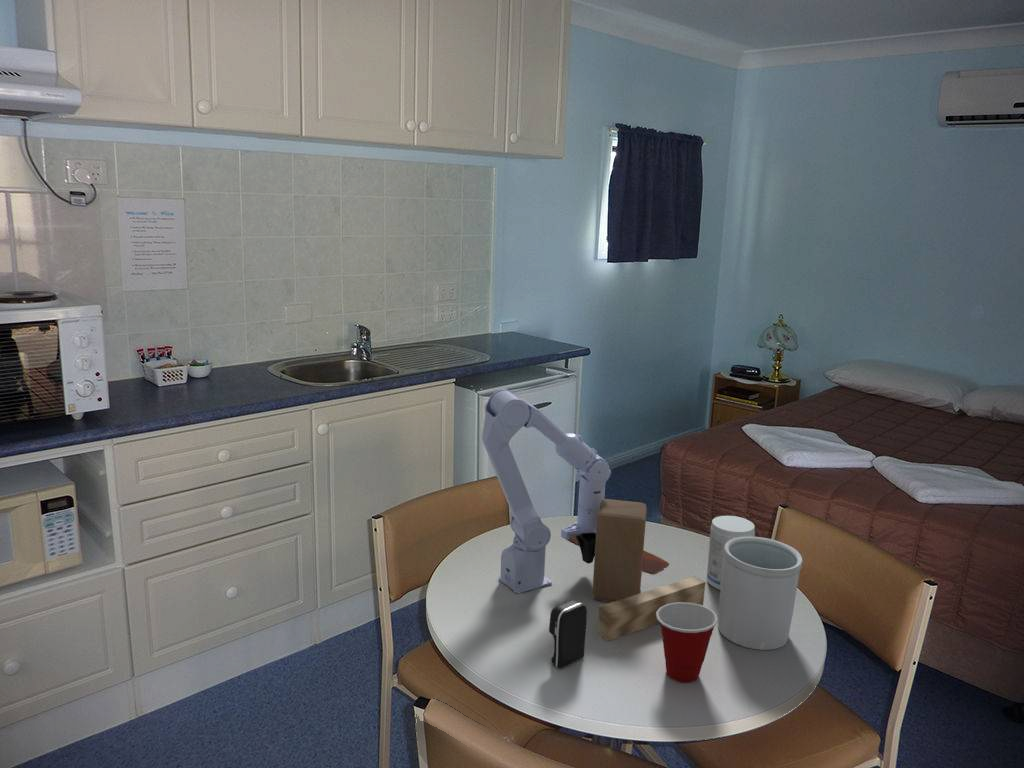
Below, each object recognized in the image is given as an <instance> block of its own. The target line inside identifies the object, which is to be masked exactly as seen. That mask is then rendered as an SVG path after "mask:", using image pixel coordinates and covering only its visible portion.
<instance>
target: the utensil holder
mask: <svg viewBox="0 0 1024 768" xmlns="http://www.w3.org/2000/svg"><path fill="white" fill-rule="evenodd" d="M724 555H725V558H724V566H723V574H722V584H721V590H720V594H719V605H718V615H717V619H718V621H717V626H718V629H719V632H720V634H721V635H722V636H723V637H724V638H726V639H727V640H729V641H730V642H732V643H734V644H736V645H738V646H741V647H743V648H746V649H747V648H748V649H752V650H759V651H760V650H761V651H771V650H777V649H779V648H782V647H784V646H785V645H786V644H787V642H788V640H789V636H790V630H791V625H792V619H793V614H794V608H795V602H796V601H795V600H796V595H797V591H798V586H799V585H798V584H799V579H800V578H799V577H800V571H801V570H802V567H803V558H802V555H801V553H800V552H799V551H798V550H797V549H796V548H794V547H792V546H790V545H789V544H786V543H784V542H780V541H778V540H775V539H772V538H766V537H761V536H755V537H737V538H734V539H731V540H729V541H728V542H727V543H726V544H725V547H724Z"/></svg>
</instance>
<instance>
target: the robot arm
mask: <svg viewBox="0 0 1024 768" xmlns="http://www.w3.org/2000/svg"><path fill="white" fill-rule="evenodd" d="M484 416H485V417H484V422H483V429H482V435H481V437H482V438H481V439H482V443H483V446H484V448H485V450H486V453H487V455H488V458H489V460H490V463H491V465H492V468H493V470H494V472H495V475H496V478H497V480H498V482H499V485H500V487H501V489H502V491H503V494H504V496H505V499H506V501H507V504H508V507H509V509H508V512H509V516H510V522H509V523H510V528H511V530H512V531H513V532H514V537H513V541H512V544H511V545H510V546H508V547H507V548H504V549H503V550H502V551H501V555H500V576H498V580H499V581H501V582H502V583H504V584H505V585H506V586H507V587H508V588H510V589H511V590H512V591H513V592H515V593H516V594H520V593H523V592H528V591H531V590H534V589H539V588H541V587H546V586H548V585H552V583H553V581H552V580H551V579H549V578H548V577H547V576H545V572H546V571H545V569H546V568H545V567H546V549H547V548H546V547H547V545H548V544H549V543H550V541H551V536H552V535H551V534H552V533H551V530H550V528H549V527H548V525H546V524H545V523H543V521H542V519H541V516H540V515H539V513H538V511H537V510H536V508H535V506H534V504H533V503H532V500H531V496H530V494H529V492H528V489H527V487H526V484H525V482H524V479H523V477H522V474H521V471H520V469H519V467H518V465H517V461H516V460H515V457H514V454H513V451H512V448H511V447H510V444H509V443H510V442H511V439H512V438H513V437H514V436H515V435H516V434H517V433H518V432H519V431H520V430H521V429H522V428H523V427H524V428H526V429H529V428H534V429H536V430H537V431H538V432H540V433H541V434H542V435H544V436H545V437H546V438H547V439H549V440H550V441H551V442H552V443H554V444H555V452H556V455H558V456H559V457H560V458H562V459H563V460H564V461H565V462H566V463H568V464H569V466H571V467H572V468H573V469H574V470H576V472H577V473H579V474H580V475H579V488H578V505H577V507H578V508H577V519H576V520H577V521H575V522H574V523H572V524H570V525H567V526H566V527H563V528H561V532H560V535H561V536H560V537H561V538H562V539H564V540H566V541H569V540H568V539H570V537H574V536H575V537H576V539H577V541H578V543H579V545H578V546H579V548H580V552H581V558H582V561H583V562H584V563H586V564H593V562H594V558H595V542H596V526H597V515H598V511H599V507H600V503H601V501H602V500H603V499H605V493H606V492H605V490H606V483H607V481H608V480H609V478H610V477H611V475H612V470H611V469H610V465H609V463H608V461H606V460H605V459H604V458H603V457H602V456H600V455H599V454H598V450H596V449H595V448H594V447H590V446H588V444H586V442H584V437H582V436H581V435H580V434H578V433H577V434H575V433H574V432H567V433H565V432H564V431H562V429H560V428H559V427H558V426H557V425H556V424H555V423H554V422H553V421H552V420H551V419H549V418H548V416H546V414H544V413H543V412H542V411H541V410H540V409H538V408H537V407H535V406H534V405H532V404H531V403H529V402H528V401H526V400H524V399H523V398H522V397H520V396H517V395H515V394H514V393H513V392H512V391H511V390H509V389H506V388H500V389H498V390H497V389H496V391H494V392H493V393H492V394H491V395H490V397H489V399H488V400H487V402H486V403H485V405H484Z"/></svg>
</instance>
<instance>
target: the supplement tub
mask: <svg viewBox="0 0 1024 768" xmlns="http://www.w3.org/2000/svg"><path fill="white" fill-rule="evenodd" d="M755 527H756V526H755V524H754V522H752V521H751V520H748V519H747V518H744V517H739V516H735V515H719V516H716V517H713V519H712V521H711V526H710V534H709V545H708V546H709V547H708V558H707V568H706V569H707V572H706V579H707V580H706V581H707V582H708V584H709V585H710V586H712V587H713V588H715V589H717V590H719V591H721V584H722V574H723V566H724V558H725V555H724V547H725V544H726V543H727V542H728V541H729V540H731V539H734V538H737V537H756V531H755Z"/></svg>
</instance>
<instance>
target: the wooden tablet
mask: <svg viewBox="0 0 1024 768" xmlns="http://www.w3.org/2000/svg"><path fill="white" fill-rule="evenodd" d="M567 541H570V542H571V543H573V544H575V545H577V546H579V543H578V541H577V539H576V537H575V536H574V537H570V539H568V540H567ZM669 565H670V563H669V562H668V561H666V560H665V559H663V558H661V557H660V556H657V555H655V554H653V553H650V552H648V551H646V550H643V562H642V572H644V573H648V574H657V573H660V572H663V571H664V570H665V569H666V568H668V567H669Z"/></svg>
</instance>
